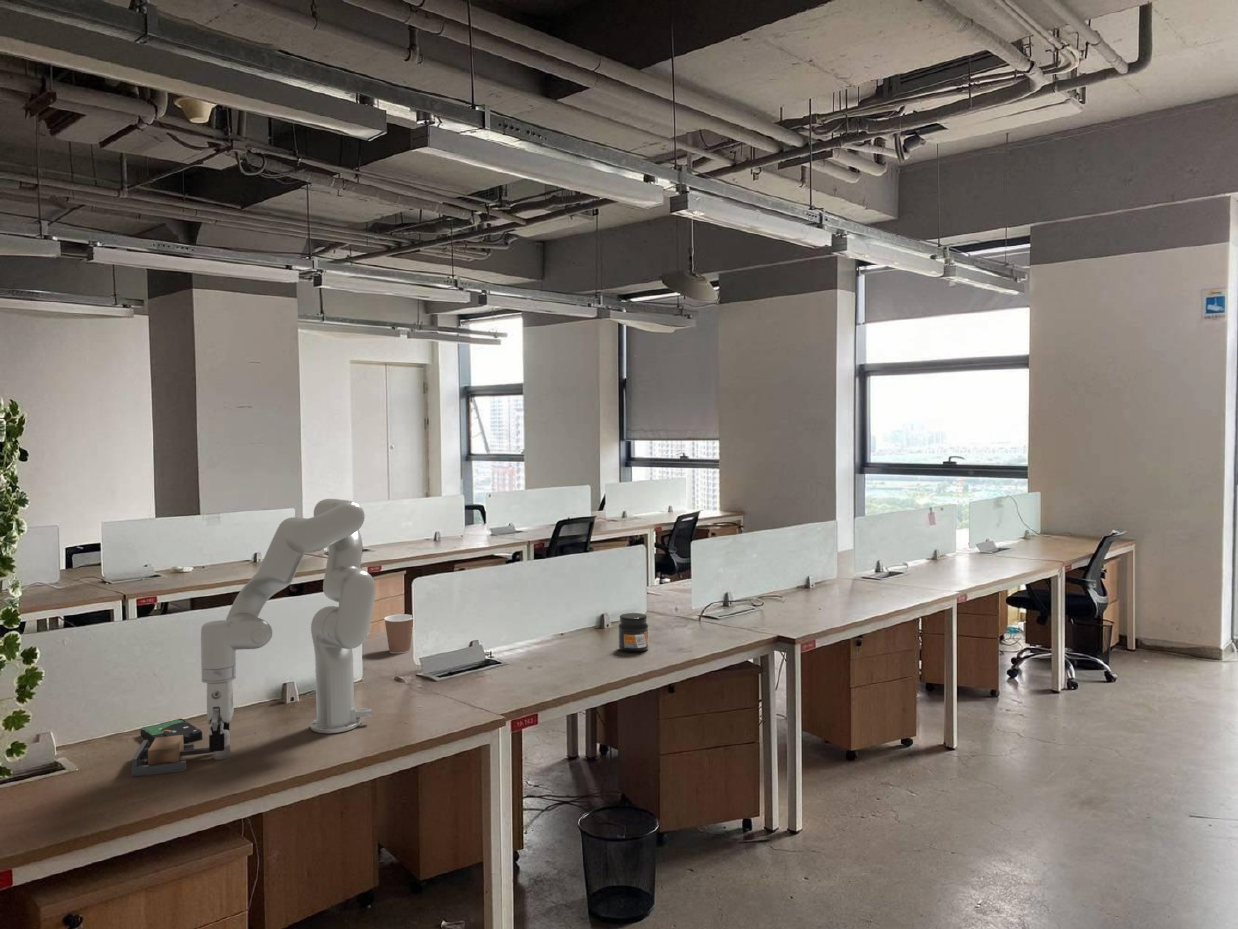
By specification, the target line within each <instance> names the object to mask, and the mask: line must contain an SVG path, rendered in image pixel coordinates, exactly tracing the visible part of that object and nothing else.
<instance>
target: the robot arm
mask: <svg viewBox="0 0 1238 929" xmlns="http://www.w3.org/2000/svg"><path fill="white" fill-rule="evenodd" d="M365 516H366V515H365V511H364V509H363V508H362V506H361V505H360V504H359V503H357V502H356V501H352V500H347V499H337V498H325V499H322V500H319V501H318V502H317V503H316V504H315V506H314V509H313V516H312V517H310V518H305V517H298V516H297V517H295V516H293V517H288V518H285V519H284V520H283V521H282V520H281V522H280V523H279V525H278V527H277V529H276V531H275V533H274V535H273V537H272V539H271V541H270V544H269V546H268V548H267V551H266V553H265V555H264V557H263V559H262V561H261V563H260V565H259V567H258V570H257V571H256V573H255V574H254V575H253V576H252V577H251V578H250V579H249V580H248V581H247V583H246V584H245V585H244V586H243V587H242V589H241V590H240V591H239V592H238V594H237V595H236V597H235V599H234V601H233V603H232V605H231V607H230V609H229V611H228V613H227V616H226V619H225V620H223V619H222V620H212V621H208V622H206V623H204V624H203V625H202V626H201V629H200V656H201V657H200V660H201V662H200V664H201V672H200V673H201V682H202V683H204V684H206V719H207V724H208V725H210V726H209V734H208V744H209V746H208V747H209V751H210V752H213V753H214V752H216V751H223V750H224V733H223V730H229V736H230V735H231V734H230V733H231V732H230V723H231V721H232V719H233V718H232V717H233V716H234V712H235V707H234V686H233V681H234V680H235V679H237V665H236V664H237V658H236V657H237V656H236V655H237V653H236V651H239V650H256V649H257V650H258V649H260V648H263V647H265V646H266V645H268V643H269V642H271V639H272V638H273V629H272V626H271V625H270V623H269V622H268V621H267V620H265V619H264V618H261V617H259V616H260V613H261V611H262V610H263V608H264V606H265V605H266V603H267V602H268V601H269V599H271V597H272V596H275V594H277V593H279V592H280V591H283V590H284V589H286V588H287V587H288V586H290V585H291V584H292V583H293V580H294V578H295V576H296V573H297V571H298V569H299V567H300V564H301V562H302V559H303V558H304V556H305V554H311V553H316V552H319V551H321V550H323V549H326V548H328V555H327V562H326V565H325V566H326V568H325V572H324V578H323V582H322V584H323V585H322V591H323V593H324V595H325V596H326V597H327V599H329V600H331V601H333V602H337V603H338V606H335V605H332V606H331V605H330V606H325V607H322V608H320V609H319V610H318V611H317V612H316V613H315V614H314V616H313V618H312V620H311V624H310V625H311V626H310V630H311V631H310V633H311V638H312V644H313V650H314V661H315V663H314V664H315V671H314V672H315V702H316V705H315V706H316V719H314V720H313V721H311V723H310V729H311V731H313V732H315V733H319V734H337V733H343V732H347V731H352V730H353V729H356V728H357V727H359V726H360V725H361V723H362V722H361V721H362V720H361V718H364V717H365V718H370V717H373V709H372V708H369V709H368V707H362V708H359V707H356V706H357V705H356V703H355V684H354V683H355V681H354V679H355V677H354V655H353V649H356V648H358V647H360V646H361V645H363V643H364V641H365V640H366V639H367V637H368V634H369V631H370V628H371V622H372V617H373V611H374V604H375V598H376V584H375V581H374V578H373V576H372V575H371V574H370V573H369V572H367V571H366V570H364V569H361V563H362V555H363V539H362V534H361V533H360V528H362V526H363V524H364V522H365Z"/></svg>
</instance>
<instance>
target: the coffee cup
mask: <svg viewBox="0 0 1238 929" xmlns="http://www.w3.org/2000/svg"><path fill="white" fill-rule="evenodd" d="M383 620H384V624H385V632H386V638H387V644H388V649H389V650H388V651H389V653H390V654H395V655H396V654H397V655H400V654H406V653H409V652H410V651H411V647H412V637H413V636H412V635H413V627H414V626H413V625H414V618H412V614H403V613H399V614H392V615H387V616H385V617H384V618H383ZM412 626H413V627H412Z"/></svg>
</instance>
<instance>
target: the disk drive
mask: <svg viewBox="0 0 1238 929" xmlns="http://www.w3.org/2000/svg"><path fill="white" fill-rule="evenodd" d="M177 735H183V742H184V744H186V743H187V744H189V743H190V742H191V743H195V742H197V741H202V740H203V731H202V730H201V729H199V728H197V727H196V726H195V725H193V724H191V723H190V722H188V721H187V720H185V719H183V718H177V719H174V720H173V719H172V720H168V721H163V722H160V723H158V724H157V723H156V724H154V725H153V724H152V725H149V726H143V727H141V729H140V737H141V738H143V740H148V743H150V744H151V745H152V743H153V741H154V740H155V738H159V737H168V736H177Z"/></svg>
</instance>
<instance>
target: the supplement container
mask: <svg viewBox="0 0 1238 929" xmlns="http://www.w3.org/2000/svg"><path fill="white" fill-rule="evenodd" d="M647 622H648V616H647V614H644V613H640V612H627V613H622V614H620V615H619V623H618V625H617V626H618V627H617V628H618V649H619V650H620V651H621V652H625V653H629V654H630V653H631V654H636V653H637V654H638V653H643V652H646V651H647V650H648V648H649V624H648V623H647Z"/></svg>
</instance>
